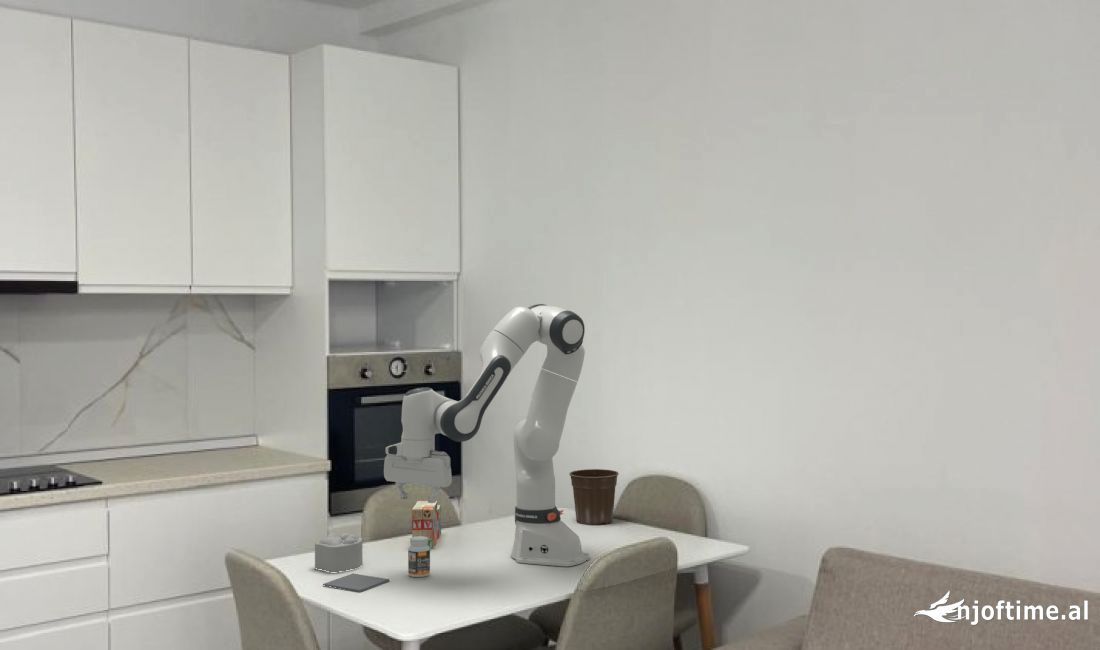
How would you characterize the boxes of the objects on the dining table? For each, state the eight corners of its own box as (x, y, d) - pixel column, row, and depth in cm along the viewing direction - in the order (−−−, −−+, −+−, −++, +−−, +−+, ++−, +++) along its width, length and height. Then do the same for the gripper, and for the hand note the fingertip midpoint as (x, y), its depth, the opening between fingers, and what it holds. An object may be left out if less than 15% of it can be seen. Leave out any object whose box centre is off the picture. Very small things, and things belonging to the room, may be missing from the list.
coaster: (389, 581, 281) (389, 579, 281) (360, 592, 270) (360, 590, 270) (352, 575, 286) (352, 573, 286) (322, 586, 276) (322, 583, 276)
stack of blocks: (421, 534, 337) (421, 495, 337) (441, 534, 337) (441, 495, 337) (411, 550, 316) (411, 508, 315) (433, 550, 316) (433, 508, 315)
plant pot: (565, 525, 349) (565, 476, 349) (572, 515, 365) (573, 468, 365) (615, 527, 347) (615, 477, 346) (620, 517, 363) (621, 469, 362)
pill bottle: (420, 579, 283) (420, 541, 283) (403, 576, 286) (403, 538, 286) (434, 574, 288) (434, 537, 288) (417, 571, 291) (417, 534, 291)
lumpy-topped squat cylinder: (309, 568, 294) (309, 537, 294) (346, 559, 304) (346, 529, 304) (334, 574, 288) (334, 542, 287) (371, 565, 298) (371, 534, 297)
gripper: (456, 450, 284) (456, 503, 285) (395, 444, 294) (394, 495, 295) (442, 453, 279) (442, 506, 279) (380, 447, 289) (380, 498, 289)
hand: (417, 500), depth 287 cm, fingers open, 8 cm apart
